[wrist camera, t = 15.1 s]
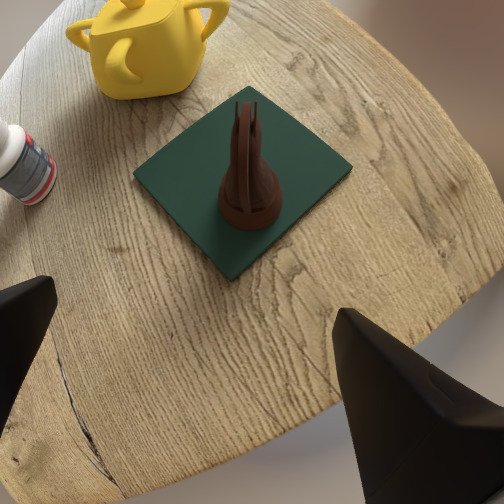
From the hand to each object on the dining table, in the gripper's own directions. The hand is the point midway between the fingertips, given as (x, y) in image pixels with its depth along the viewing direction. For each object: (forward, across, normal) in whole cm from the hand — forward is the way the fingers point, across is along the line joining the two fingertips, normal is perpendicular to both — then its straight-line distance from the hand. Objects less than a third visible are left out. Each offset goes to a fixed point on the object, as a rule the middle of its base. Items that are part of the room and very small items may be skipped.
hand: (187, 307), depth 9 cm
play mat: (+18, -1, -1) cm, 18 cm away
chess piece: (+15, -2, +1) cm, 15 cm away
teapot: (+27, +8, -10) cm, 30 cm away
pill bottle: (+19, +18, +1) cm, 26 cm away
